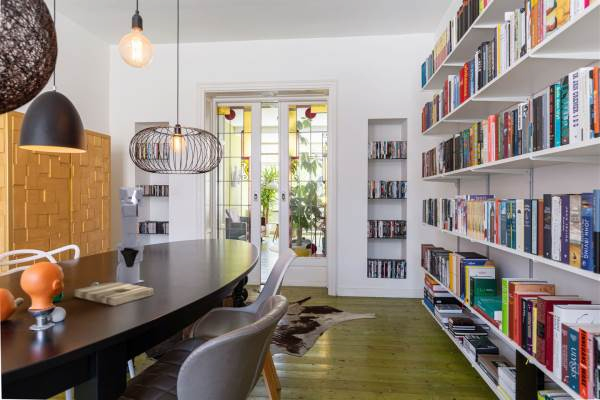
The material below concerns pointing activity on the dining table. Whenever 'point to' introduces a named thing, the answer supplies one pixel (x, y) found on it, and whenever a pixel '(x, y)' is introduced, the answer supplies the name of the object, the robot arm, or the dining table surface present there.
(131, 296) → the birch board
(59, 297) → the soda can
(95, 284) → the steel ball
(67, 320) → the dining table surface
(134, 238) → the robot arm
